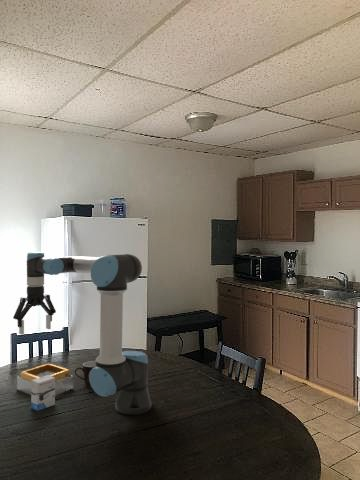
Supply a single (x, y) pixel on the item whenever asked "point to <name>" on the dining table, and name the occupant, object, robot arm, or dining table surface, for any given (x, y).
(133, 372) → the robot arm
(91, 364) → the coffee mug
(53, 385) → the ink box
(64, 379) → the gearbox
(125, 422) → the dining table surface
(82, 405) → the dining table surface
